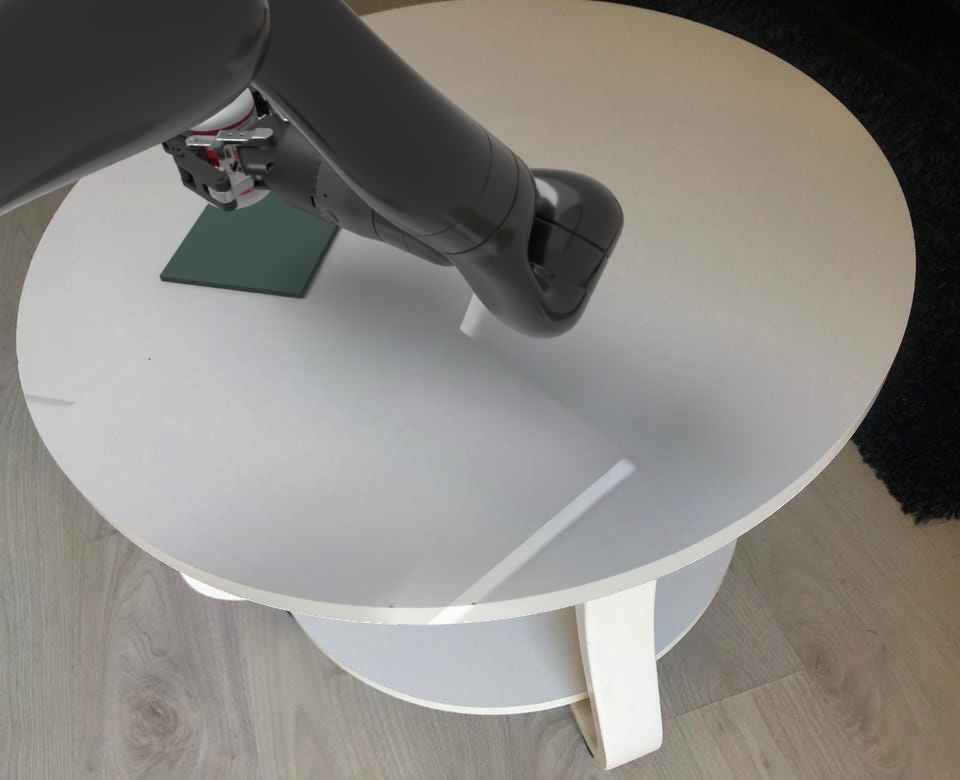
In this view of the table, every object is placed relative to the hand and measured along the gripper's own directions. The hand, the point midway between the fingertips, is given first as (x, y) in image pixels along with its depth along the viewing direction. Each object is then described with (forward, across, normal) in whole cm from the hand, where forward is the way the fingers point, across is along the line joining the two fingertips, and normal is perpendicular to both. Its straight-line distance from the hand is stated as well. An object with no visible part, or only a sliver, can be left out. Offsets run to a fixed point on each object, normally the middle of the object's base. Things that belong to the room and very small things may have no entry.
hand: (196, 112), depth 78 cm
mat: (+4, -5, +18) cm, 19 cm away
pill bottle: (-2, 0, +7) cm, 7 cm away
